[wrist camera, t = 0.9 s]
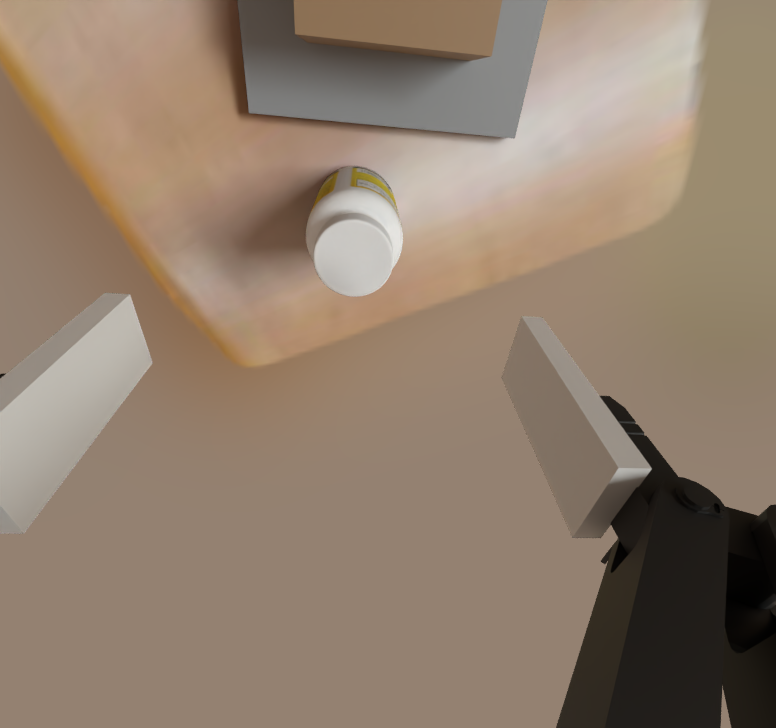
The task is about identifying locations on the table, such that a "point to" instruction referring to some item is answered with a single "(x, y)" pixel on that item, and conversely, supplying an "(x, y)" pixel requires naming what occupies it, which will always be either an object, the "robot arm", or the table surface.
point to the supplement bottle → (354, 231)
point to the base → (392, 61)
